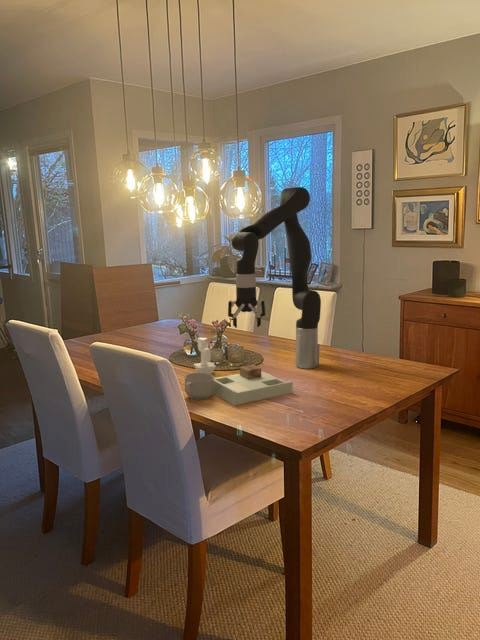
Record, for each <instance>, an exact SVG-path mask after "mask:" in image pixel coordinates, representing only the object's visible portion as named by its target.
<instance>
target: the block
mask: <svg viewBox="0 0 480 640" xmlns="http://www.w3.org/2000/svg"><path fill="white" fill-rule="evenodd" d="M261 371H262V367H260V366H257V365H255V364H250V365H249V364H248V365H243V366H239V374H240V376H242V377H244V378H246V379H254V378H259V377H261Z"/></svg>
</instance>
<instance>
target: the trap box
mask: <svg viewBox="0 0 480 640" xmlns="http://www.w3.org/2000/svg"><path fill="white" fill-rule="evenodd" d="M293 387H294V386H293V381H292V380H291V381H285V380H283V379H281V378H278V377H276V376H274V375H271V374H269V373H268V372H265V371H263V370H261V377H259V378H254V379H246V378H244V377H242V376H240V373H236V374H235V373H234V374H231V375H230V374H229V375H225V376H220V377H215V379H214V390H213V393H212V394H215V395H216V396H218V397H219V398H220V399H223V400H225V401H226V402H228V403H230V404H231V405H233V406H238V405H243V404H246V403H250V402H257V401H260V400H265V399H269V398H275V397H278V396H283V395H288V394H293V390H294V389H293Z"/></svg>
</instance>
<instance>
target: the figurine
mask: <svg viewBox="0 0 480 640" xmlns="http://www.w3.org/2000/svg"><path fill="white" fill-rule="evenodd" d="M208 345H209V342H208V338H207V337H198V338H197V349H198V350H199V351H200V362H198V363H193V366H194V368H195V370H196V372H202V373H209V374H211V375H213V372H214V371H215V368H216V367H217V366H216V365H215V364H214V363H212V362H211V358H212V357H211V355H212V354H211V350H210V348H209V346H208Z"/></svg>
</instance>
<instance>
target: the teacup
mask: <svg viewBox="0 0 480 640" xmlns="http://www.w3.org/2000/svg"><path fill="white" fill-rule="evenodd" d="M215 378H216V377H215V376H214V375H213V374H209V373H202V372H197V371H196V372H191V373H190V372H189V373H187V374H185V375H184V392H185V394H186V395H187V396H188V397H189V398H190V399H192V400H197V401H203V400H207V399H209V397H211V396H212V395H213V394H214V393H213V390H214V379H215Z"/></svg>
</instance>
